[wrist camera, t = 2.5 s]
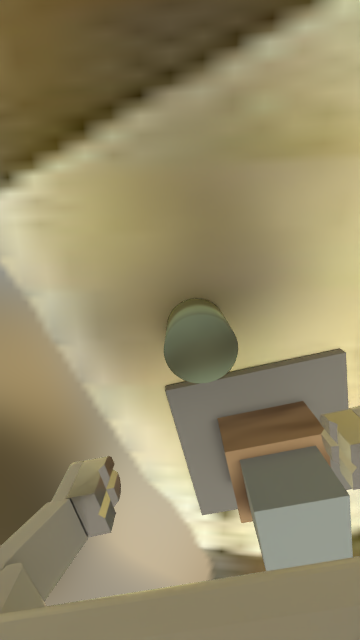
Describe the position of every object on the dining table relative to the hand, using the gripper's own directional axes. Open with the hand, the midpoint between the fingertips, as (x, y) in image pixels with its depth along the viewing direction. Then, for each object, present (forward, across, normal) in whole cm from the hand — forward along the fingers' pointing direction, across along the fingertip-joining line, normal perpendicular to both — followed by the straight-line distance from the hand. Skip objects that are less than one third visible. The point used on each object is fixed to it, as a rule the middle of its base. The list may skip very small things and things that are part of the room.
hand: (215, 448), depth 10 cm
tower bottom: (+12, -4, +12) cm, 18 cm away
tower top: (+8, -4, +12) cm, 15 cm away
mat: (+13, -4, +12) cm, 18 cm away
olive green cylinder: (+13, 0, -1) cm, 13 cm away
